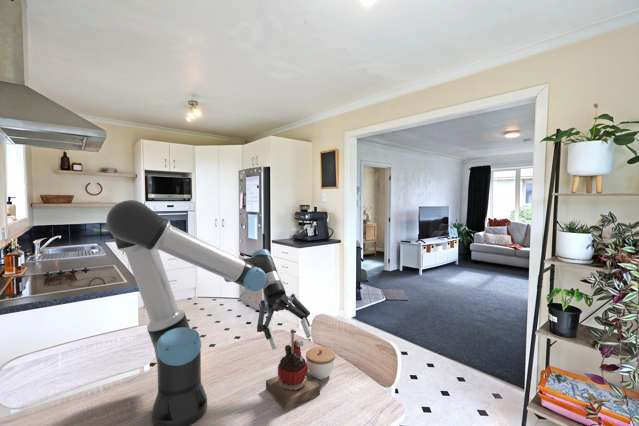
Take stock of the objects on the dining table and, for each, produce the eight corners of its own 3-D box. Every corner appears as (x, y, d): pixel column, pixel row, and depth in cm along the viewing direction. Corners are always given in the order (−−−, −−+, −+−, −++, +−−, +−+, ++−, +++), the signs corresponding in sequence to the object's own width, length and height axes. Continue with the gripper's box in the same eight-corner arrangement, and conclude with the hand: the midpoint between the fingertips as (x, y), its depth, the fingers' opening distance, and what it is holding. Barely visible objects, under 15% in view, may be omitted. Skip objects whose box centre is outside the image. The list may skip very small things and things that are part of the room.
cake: (273, 378, 102) (273, 326, 102) (299, 371, 107) (299, 321, 106) (285, 396, 93) (285, 339, 92) (312, 387, 97) (312, 333, 96)
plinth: (285, 410, 91) (285, 401, 91) (265, 389, 101) (265, 380, 101) (319, 394, 99) (320, 385, 99) (298, 375, 109) (298, 367, 109)
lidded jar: (335, 367, 115) (335, 343, 114) (334, 384, 104) (334, 357, 104) (307, 365, 116) (308, 341, 115) (303, 382, 105) (303, 356, 105)
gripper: (297, 286, 122) (318, 337, 111) (237, 298, 107) (254, 357, 96) (304, 276, 117) (327, 328, 106) (243, 287, 103) (262, 348, 91)
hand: (293, 342), depth 101 cm, fingers open, 13 cm apart
